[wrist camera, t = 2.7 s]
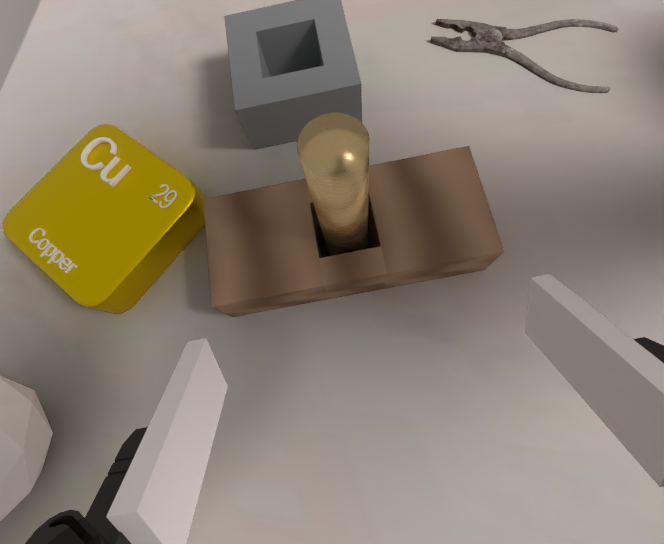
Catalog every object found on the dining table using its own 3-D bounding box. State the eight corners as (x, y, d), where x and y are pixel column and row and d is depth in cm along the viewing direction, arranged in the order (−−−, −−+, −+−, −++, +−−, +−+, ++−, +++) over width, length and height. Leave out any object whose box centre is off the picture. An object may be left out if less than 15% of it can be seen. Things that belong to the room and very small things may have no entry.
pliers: (629, 90, 37) (429, 86, 39) (623, 96, 37) (428, 92, 40) (618, 17, 39) (432, 17, 41) (613, 24, 40) (430, 24, 42)
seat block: (342, 43, 42) (338, -10, 36) (361, 127, 39) (361, 83, 33) (243, 64, 43) (224, 16, 37) (253, 149, 39) (234, 110, 33)
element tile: (31, 241, 39) (-14, 222, 34) (128, 141, 41) (98, 112, 37) (121, 323, 35) (85, 315, 31) (221, 209, 38) (201, 186, 33)
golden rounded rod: (363, 222, 36) (361, 106, 20) (371, 259, 34) (376, 166, 19) (323, 230, 36) (292, 120, 20) (330, 267, 35) (302, 181, 19)
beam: (455, 176, 36) (469, 145, 31) (484, 269, 33) (504, 251, 28) (224, 222, 37) (203, 199, 32) (232, 316, 34) (211, 307, 29)
